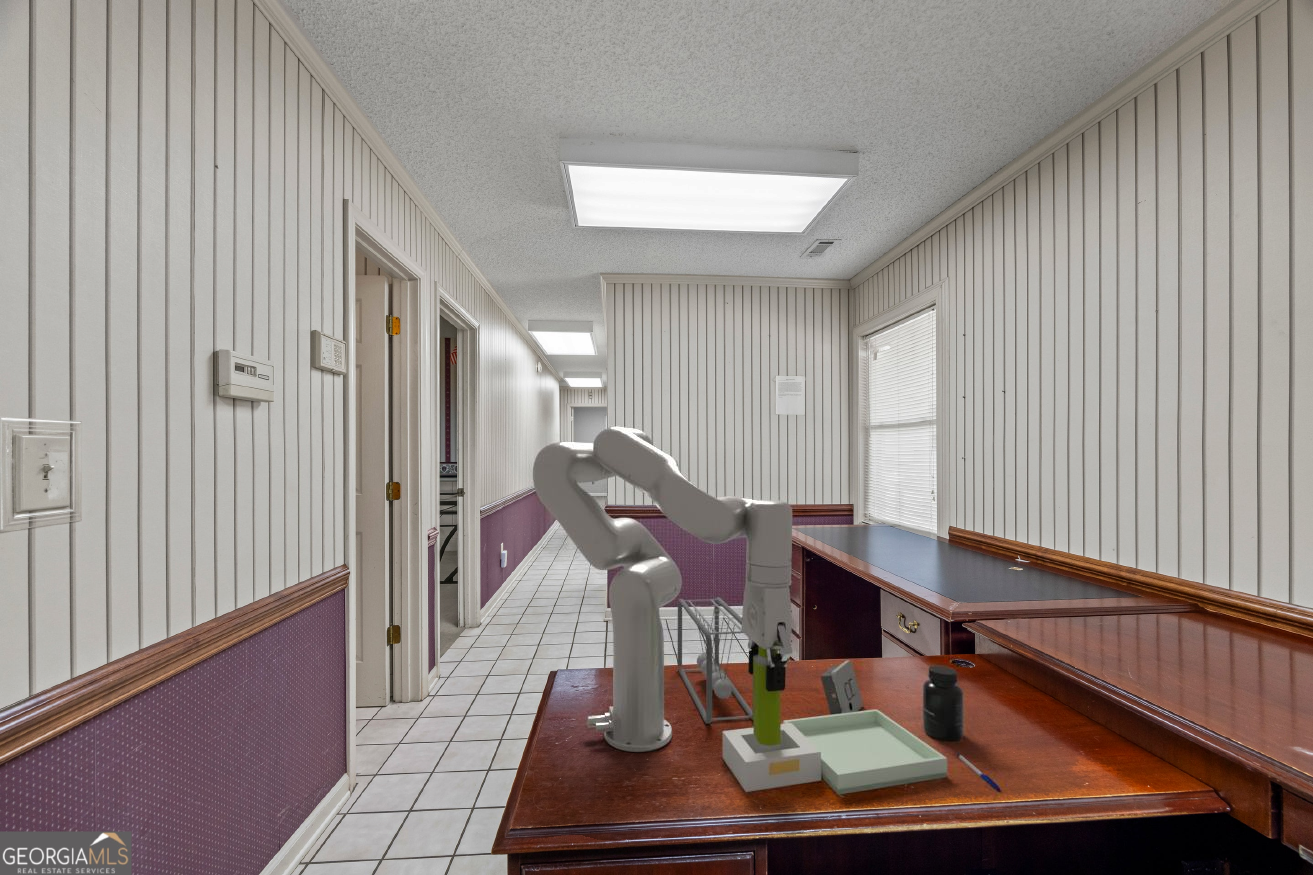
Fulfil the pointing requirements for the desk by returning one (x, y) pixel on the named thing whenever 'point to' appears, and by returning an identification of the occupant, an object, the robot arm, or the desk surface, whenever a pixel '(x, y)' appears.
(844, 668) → the electrical switch
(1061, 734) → the desk surface
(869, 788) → the parts tray
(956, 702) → the supplement bottle
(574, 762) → the desk surface
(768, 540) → the robot arm
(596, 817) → the desk surface
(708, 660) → the newton's cradle
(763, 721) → the vape
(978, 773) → the ballpoint pen
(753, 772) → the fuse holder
